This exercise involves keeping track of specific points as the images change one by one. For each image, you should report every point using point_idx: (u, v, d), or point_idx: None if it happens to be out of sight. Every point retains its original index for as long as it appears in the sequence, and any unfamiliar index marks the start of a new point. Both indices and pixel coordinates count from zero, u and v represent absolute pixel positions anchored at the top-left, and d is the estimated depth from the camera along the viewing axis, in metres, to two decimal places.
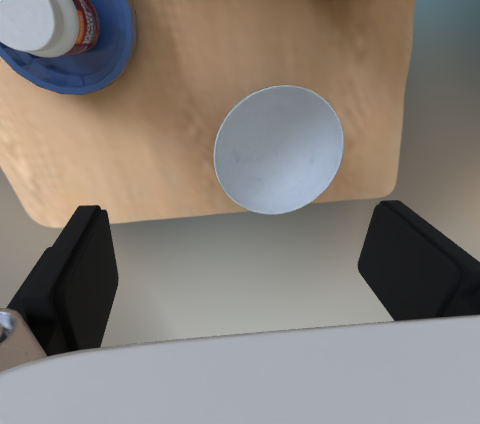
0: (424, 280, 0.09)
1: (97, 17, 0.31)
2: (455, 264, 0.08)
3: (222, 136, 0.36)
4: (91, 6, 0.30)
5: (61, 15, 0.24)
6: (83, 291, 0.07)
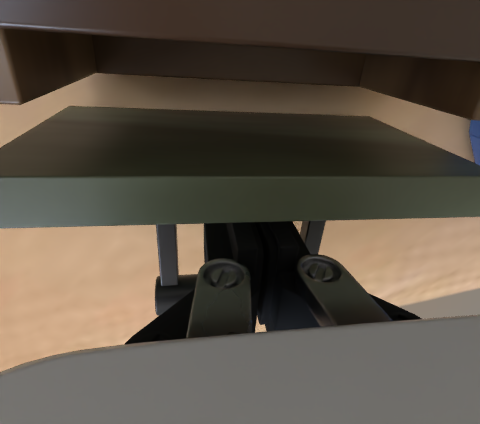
0: None
1: None
2: (274, 242, 0.08)
3: None
4: None
5: None
6: None
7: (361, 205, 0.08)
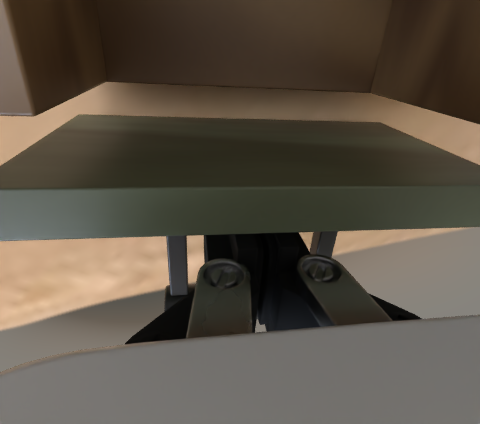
0: None
1: None
2: (274, 241, 0.08)
3: None
4: None
5: None
6: None
7: (377, 215, 0.07)
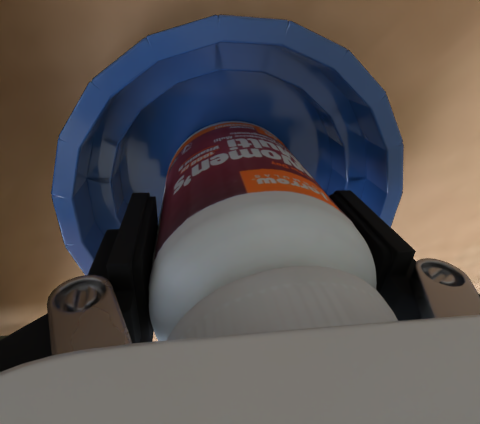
0: None
1: (227, 124, 0.13)
2: (386, 246, 0.08)
3: None
4: (206, 134, 0.12)
5: (300, 277, 0.05)
6: (148, 265, 0.08)
7: None
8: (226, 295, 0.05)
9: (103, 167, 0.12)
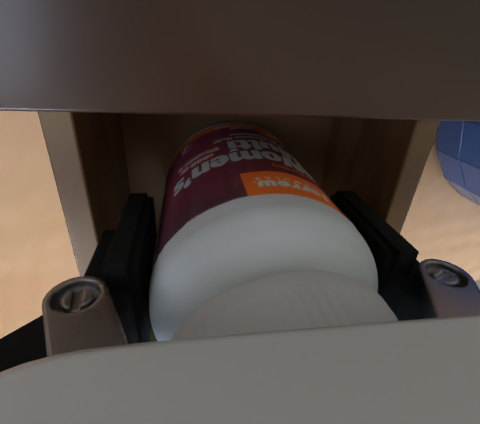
0: None
1: (227, 125, 0.13)
2: (389, 247, 0.08)
3: None
4: (206, 135, 0.12)
5: (302, 282, 0.05)
6: (144, 266, 0.08)
7: None
8: (227, 300, 0.05)
9: None
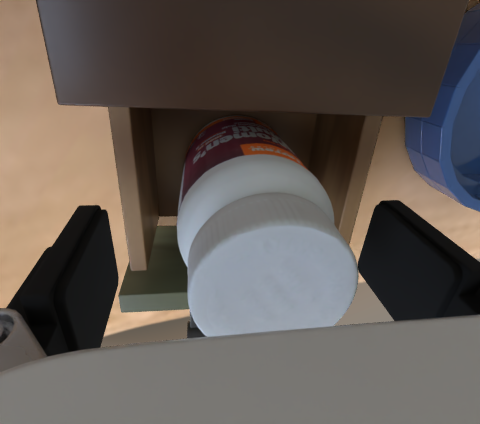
0: (424, 280, 0.09)
1: (232, 117, 0.16)
2: (455, 264, 0.08)
3: None
4: (216, 124, 0.16)
5: (274, 196, 0.09)
6: (83, 291, 0.07)
7: None
8: (229, 207, 0.09)
9: None
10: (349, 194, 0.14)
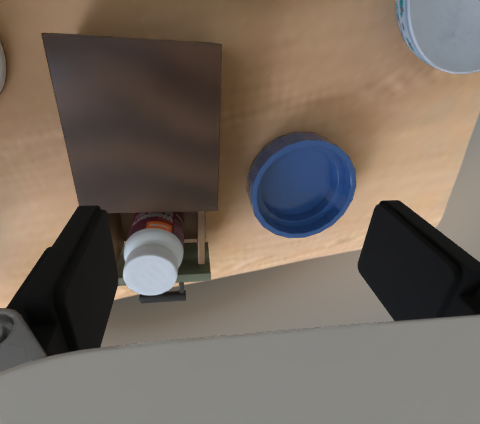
0: (424, 280, 0.09)
1: None
2: (455, 264, 0.08)
3: (428, 57, 0.32)
4: None
5: (149, 246, 0.30)
6: (83, 291, 0.07)
7: (179, 279, 0.38)
8: (136, 249, 0.30)
9: None
10: (198, 236, 0.35)
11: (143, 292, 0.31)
